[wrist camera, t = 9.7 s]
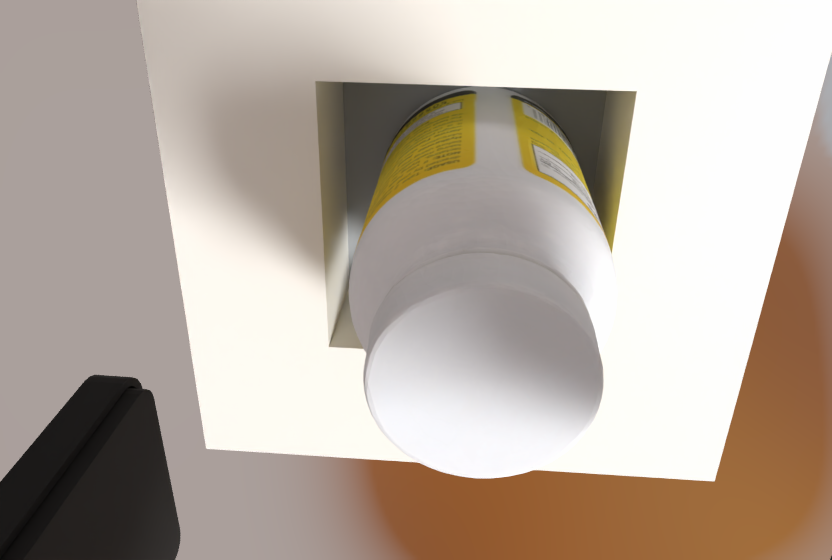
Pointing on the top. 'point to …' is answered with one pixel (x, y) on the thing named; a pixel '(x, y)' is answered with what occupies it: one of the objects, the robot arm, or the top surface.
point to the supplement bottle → (482, 288)
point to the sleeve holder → (364, 155)
